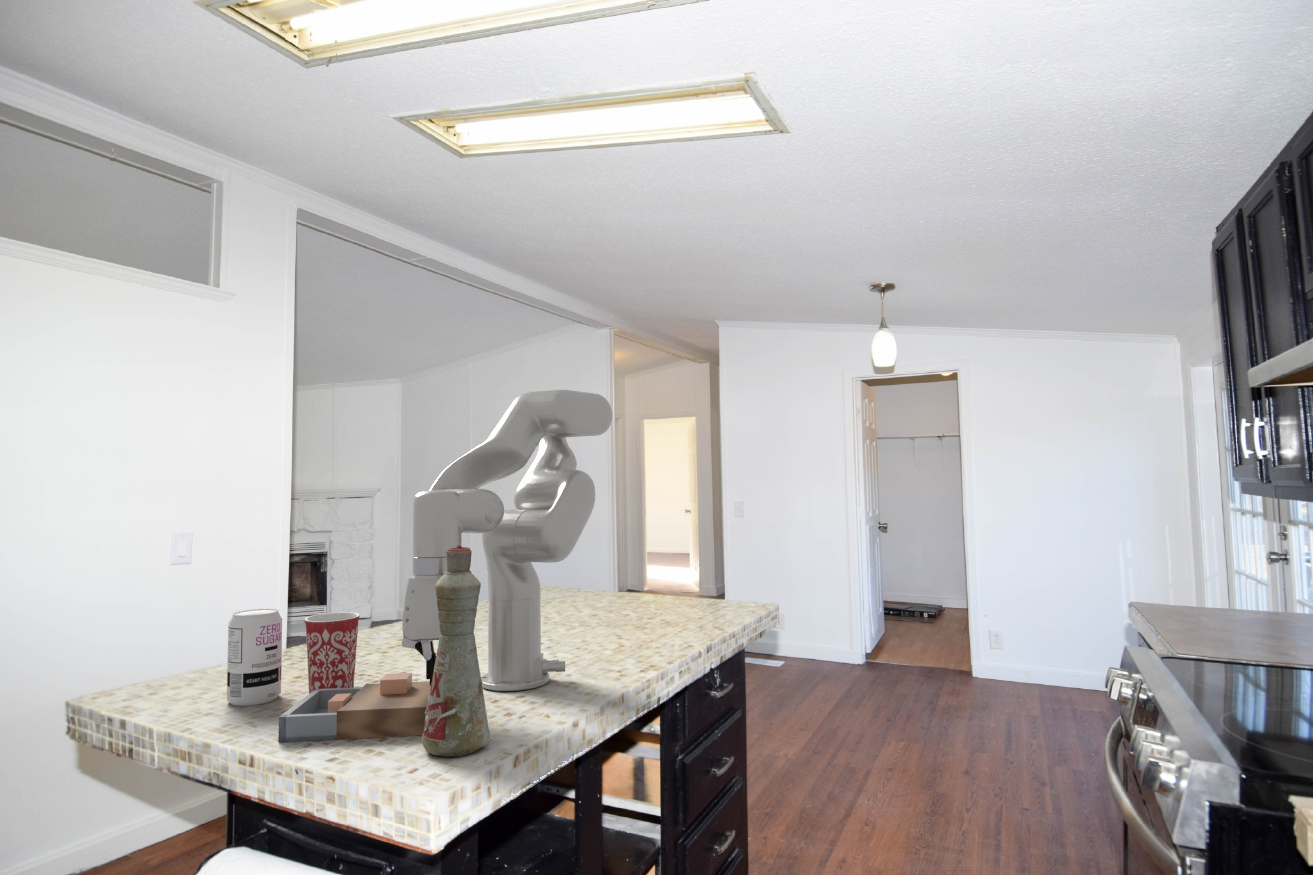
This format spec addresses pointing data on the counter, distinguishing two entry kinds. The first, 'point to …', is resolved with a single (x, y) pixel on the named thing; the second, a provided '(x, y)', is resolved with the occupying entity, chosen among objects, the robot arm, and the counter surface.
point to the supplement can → (254, 657)
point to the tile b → (396, 683)
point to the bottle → (456, 666)
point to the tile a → (337, 702)
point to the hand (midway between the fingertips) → (436, 683)
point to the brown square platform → (383, 713)
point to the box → (311, 717)
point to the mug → (331, 650)
